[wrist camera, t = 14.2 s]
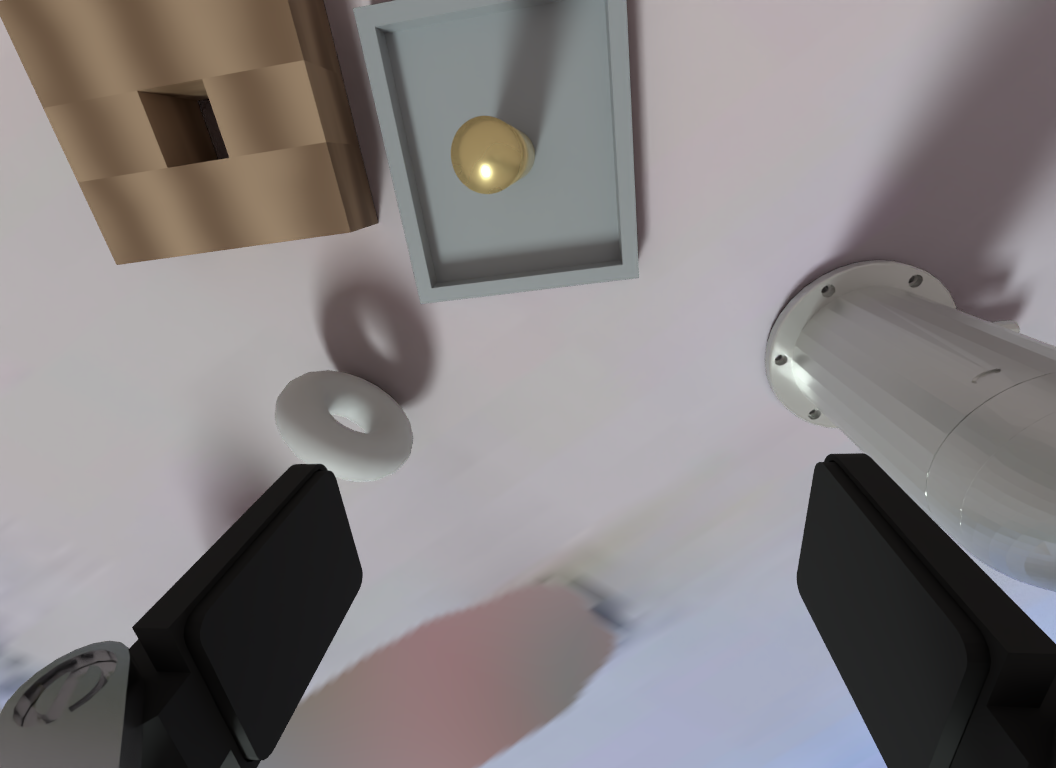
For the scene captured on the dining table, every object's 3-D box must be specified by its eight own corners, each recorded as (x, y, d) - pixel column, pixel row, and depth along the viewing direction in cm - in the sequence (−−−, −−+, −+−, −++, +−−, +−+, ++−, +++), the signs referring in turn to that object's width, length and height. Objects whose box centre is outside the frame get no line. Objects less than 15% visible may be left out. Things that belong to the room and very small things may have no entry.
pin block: (317, -24, 29) (272, -58, 24) (378, 222, 35) (350, 232, 30) (77, 25, 31) (-7, 2, 26) (172, 252, 36) (116, 264, 32)
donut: (435, 411, 41) (398, 483, 32) (414, 440, 42) (373, 517, 33) (327, 343, 39) (254, 399, 30) (309, 376, 40) (234, 439, 31)
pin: (531, 125, 31) (515, 110, 20) (537, 176, 32) (526, 189, 21) (484, 132, 31) (444, 121, 20) (492, 183, 32) (458, 198, 22)
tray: (619, -28, 28) (624, -45, 26) (633, 270, 35) (638, 278, 33) (368, 20, 30) (353, 8, 27) (429, 295, 37) (420, 304, 34)
